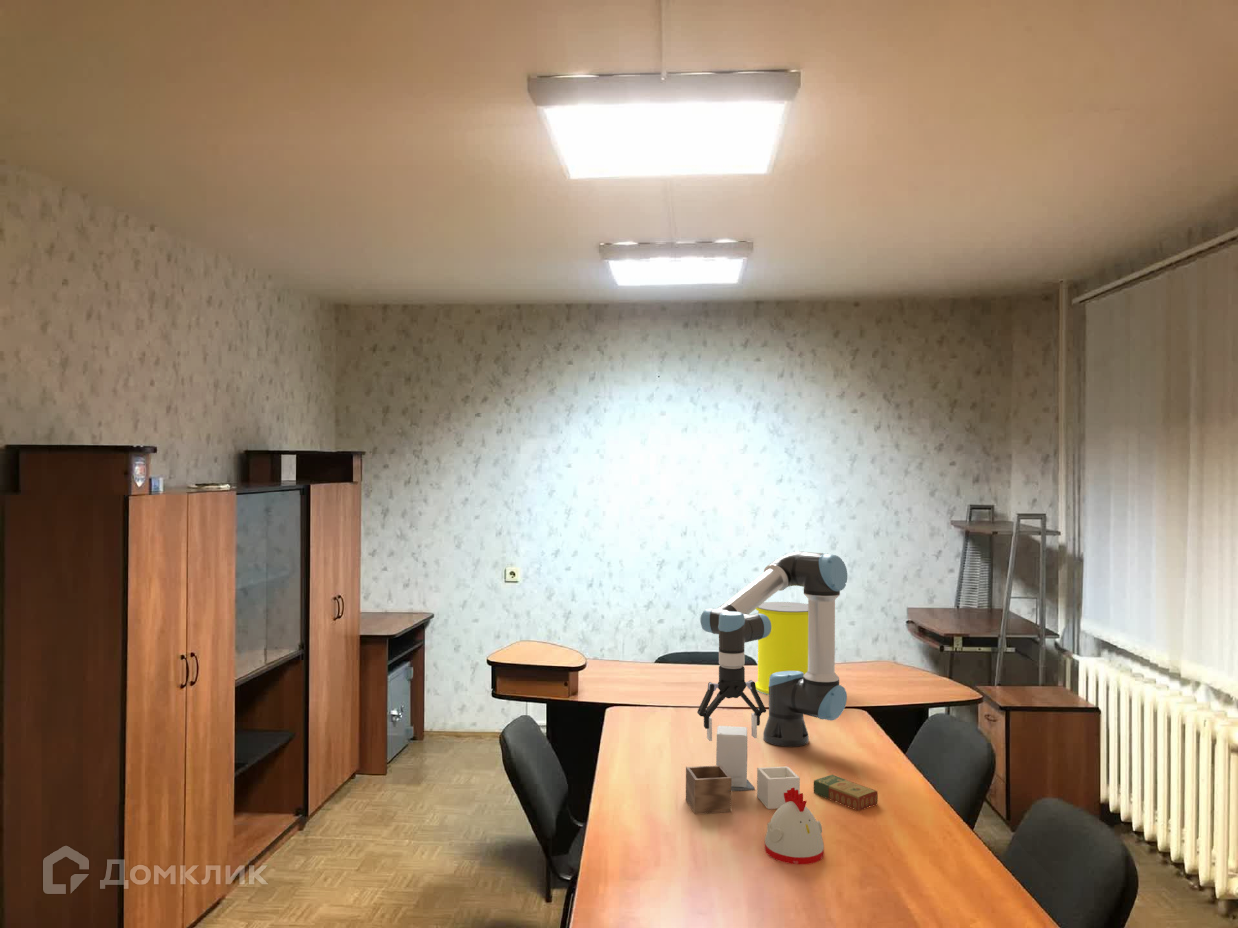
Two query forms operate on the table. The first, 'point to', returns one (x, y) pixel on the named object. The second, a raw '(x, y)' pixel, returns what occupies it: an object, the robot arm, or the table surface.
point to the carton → (845, 792)
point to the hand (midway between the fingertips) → (731, 738)
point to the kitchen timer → (794, 832)
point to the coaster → (748, 787)
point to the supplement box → (733, 753)
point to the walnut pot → (708, 789)
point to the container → (782, 641)
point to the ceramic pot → (775, 785)
